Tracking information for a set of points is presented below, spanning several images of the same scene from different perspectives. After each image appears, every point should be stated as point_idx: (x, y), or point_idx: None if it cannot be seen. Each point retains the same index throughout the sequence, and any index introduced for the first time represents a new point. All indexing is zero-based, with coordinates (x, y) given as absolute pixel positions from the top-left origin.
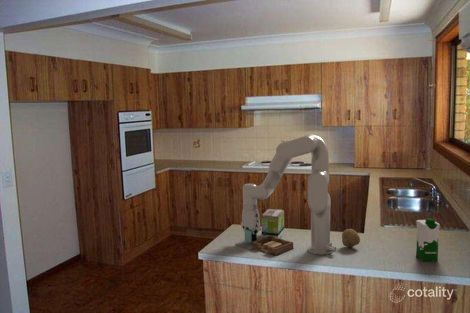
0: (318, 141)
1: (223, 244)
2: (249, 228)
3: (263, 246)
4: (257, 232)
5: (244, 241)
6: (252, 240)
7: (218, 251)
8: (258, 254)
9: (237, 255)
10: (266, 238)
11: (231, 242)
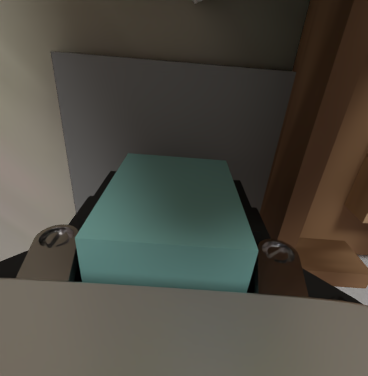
0: None
1: None
2: (88, 267)
3: (351, 209)
4: (297, 255)
5: (87, 175)
6: None
7: None
8: (346, 288)
9: None
10: (352, 82)
11: (18, 231)
